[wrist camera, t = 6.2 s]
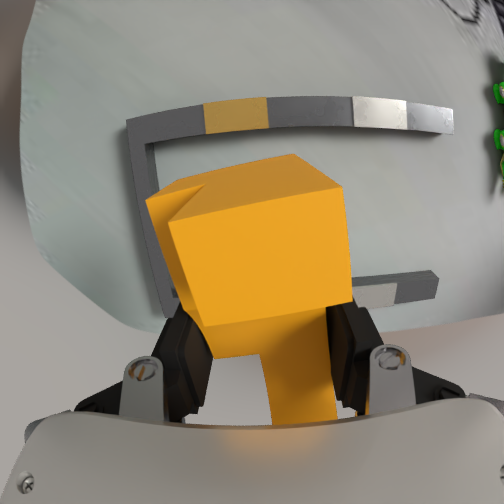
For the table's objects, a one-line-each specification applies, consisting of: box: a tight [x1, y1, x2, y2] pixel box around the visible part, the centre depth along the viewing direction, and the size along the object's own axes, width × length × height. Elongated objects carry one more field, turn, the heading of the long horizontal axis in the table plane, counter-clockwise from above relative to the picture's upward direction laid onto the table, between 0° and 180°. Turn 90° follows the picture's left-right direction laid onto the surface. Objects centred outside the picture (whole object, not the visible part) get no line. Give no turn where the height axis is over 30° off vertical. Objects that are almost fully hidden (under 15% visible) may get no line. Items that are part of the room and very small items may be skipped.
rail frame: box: [126, 96, 453, 318], centre depth 25 cm, size 30×20×2 cm
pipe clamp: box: [145, 154, 353, 425], centre depth 9 cm, size 12×4×6 cm, turn 12°
